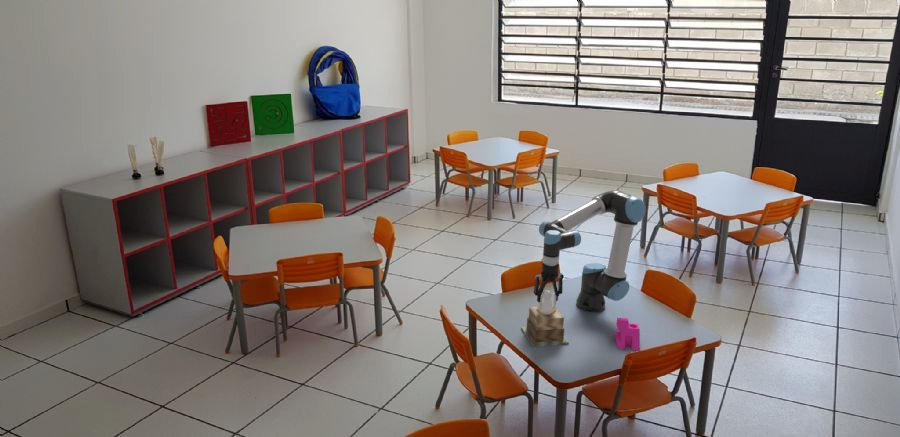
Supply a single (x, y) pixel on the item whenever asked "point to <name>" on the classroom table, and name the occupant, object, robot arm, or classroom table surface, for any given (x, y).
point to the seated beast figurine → (546, 303)
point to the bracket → (627, 334)
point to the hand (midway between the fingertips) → (546, 307)
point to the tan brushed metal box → (544, 328)
